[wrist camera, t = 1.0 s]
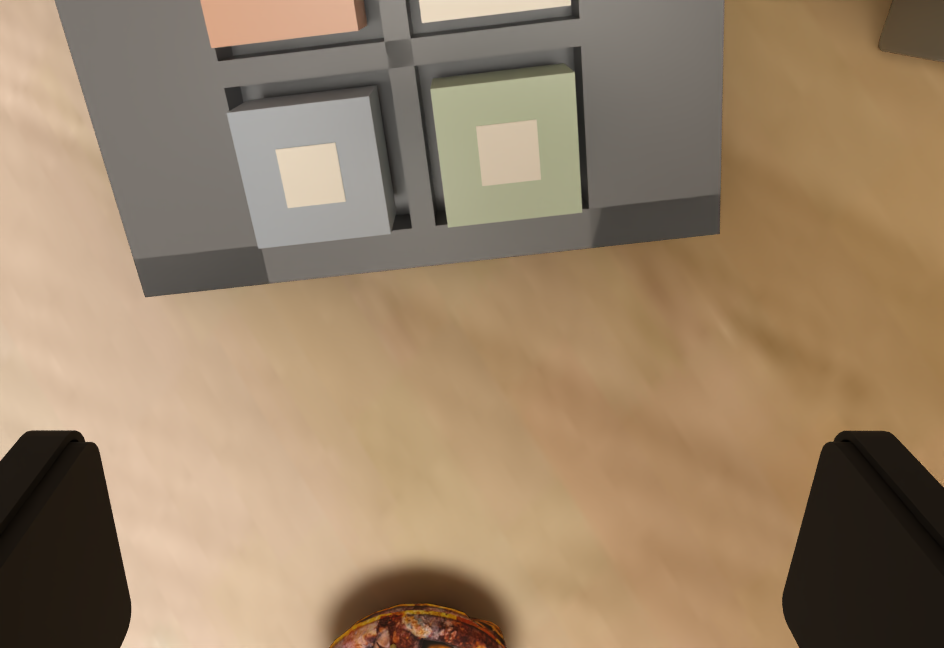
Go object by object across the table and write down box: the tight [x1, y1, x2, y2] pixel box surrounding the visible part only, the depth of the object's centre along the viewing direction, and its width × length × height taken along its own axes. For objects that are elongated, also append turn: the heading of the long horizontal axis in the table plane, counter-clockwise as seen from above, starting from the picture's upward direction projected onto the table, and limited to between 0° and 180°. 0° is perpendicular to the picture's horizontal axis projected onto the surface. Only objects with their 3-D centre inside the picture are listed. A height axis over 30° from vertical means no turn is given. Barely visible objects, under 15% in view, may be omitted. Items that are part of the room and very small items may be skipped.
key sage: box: [430, 63, 582, 228], centre depth 25 cm, size 4×4×3 cm
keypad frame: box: [55, 0, 724, 297], centre depth 25 cm, size 20×14×2 cm
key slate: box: [227, 85, 396, 249], centre depth 25 cm, size 4×4×3 cm
